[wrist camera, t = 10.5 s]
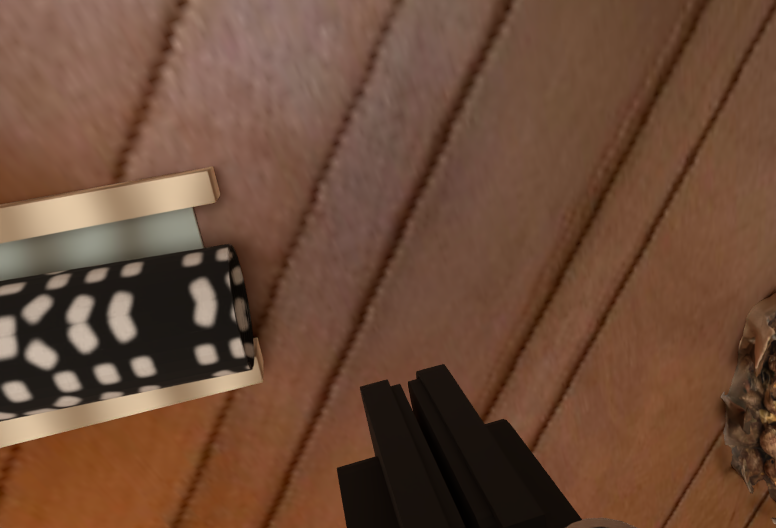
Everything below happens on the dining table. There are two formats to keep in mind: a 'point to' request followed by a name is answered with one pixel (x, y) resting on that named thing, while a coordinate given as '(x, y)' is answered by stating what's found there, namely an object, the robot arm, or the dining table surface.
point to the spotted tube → (121, 329)
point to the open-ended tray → (102, 246)
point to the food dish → (754, 400)
